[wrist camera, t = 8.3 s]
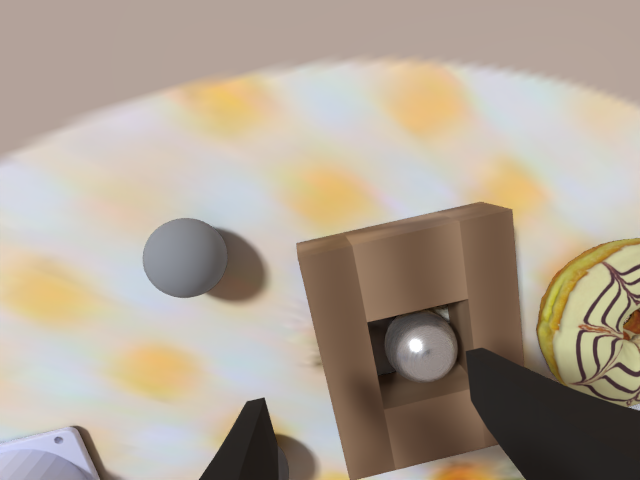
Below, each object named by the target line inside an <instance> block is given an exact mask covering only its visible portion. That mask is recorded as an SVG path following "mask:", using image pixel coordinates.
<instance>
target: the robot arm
mask: <svg viewBox="0 0 640 480" xmlns="http://www.w3.org/2000/svg"><path fill="white" fill-rule="evenodd" d="M465 352H466V361H467V370H468V379H469V389H470V398H471V402H472V403H473V405H474V407H475V409H476V410H477V412H478V414H479V416H480V417H481V419H482V421H483V422H484V424H485V426H486V427H487V429H488V430H489V431H490V433H491V434H492V435H493V437H494V438H495V439H496V441H497V442H498V443H499V445H500V446H501V447H502V449H503V450H504V451H505V453H506V454H507V455H508V457H509V458H510V459H511V461H512V462H513V463H514V464H515V466H516V467H517V468H518V470H519V471H520V472H521V474H522V475H523V476H524V478H525V479H526V480H640V411H639V410H635V409H631V408H628V407H624V406H621V405H618V404H615V403H612V402H609V401H606V400H603V399H600V398H597V397H594V396H591V395H588V394H585V393H583V392H580V391H577V390H575V389H572V388H570V387H568V386H565V385H563V384H560V383H558V382H555V381H553V380H551V379H548V378H546V377H544V376H542V375H540V374H537V373H535V372H533V371H531V370H529V369H527V368H524V367H522V366H520V365H518V364H516V363H514V362H512V361H510V360H508V359H506V358H504V357H502V356H500V355H498V354H496V353H494V352H491V351H489V350H487V349H485V348H477V349H473V350H469V351H465ZM59 437H62V438H63V439H61V438H59ZM0 480H100V478H99V476H98V474H97V471H96V469H95V467H94V465H93V462H92V460H91V458H90V456H89V454H88V451H87V449H86V447H85V445H84V443H83V440H82V438H81V436H80V434H79V432H78V430H77V429H75V428H73V427H66V428H62V429H58V430H54V431H49V432H45V433H41V434H37V435H32V436H28V437H24V438H20V439H16V440H11V441H7V442H3V443H0ZM199 480H279V465H278V445H277V441H276V438H275V434H274V431H273V427H272V423H271V420H270V416H269V412H268V409H267V405H266V401H265V398H260V399H256V400H252V401H247V402H246V404H245V405H244V407H243V409H242V411H241V413H240V414H239V416H238V418H237V420H236V422H235V423H234V425H233V427H232V429H231V430H230V432H229V434H228V435H227V437H226V439H225V440H224V442H223V444H222V445H221V447H220V449H219V450H218V452H217V453H216V455H215V457H214V458H213V460H212V461H211V463H210V464H209V466H208V467H207V468H206V470H205V471H204V473H203V474H202V476H201V477H200V479H199Z"/></svg>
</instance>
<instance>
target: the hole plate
mask: <svg viewBox="0 0 640 480" xmlns="http://www.w3.org/2000/svg"><path fill="white" fill-rule="evenodd" d="M297 255H298V261H299V265H300V270H301V274H302V278H303V282H304V287H305V291H306V295H307V299H308V304H309V308H310V312H311V316H312V321H313V325H314V329H315V333H316V338H317V342H318V346H319V350H320V355H321V359H322V363H323V367H324V372H325V376H326V380H327V384H328V389H329V393H330V397H331V402H332V406H333V410H334V414H335V419H336V423H337V427H338V431H339V436H340V440H341V444H342V448H343V453H344V457H345V461H346V465H347V470H348V474H349V478H350V480H357V479H361V478H365V477H369V476H373V475H377V474H381V473H385V472H389V471H394V470H398V469H402V468H406V467H410V466H414V465H418V464H422V463H426V462H430V461H434V460H438V459H442V458H446V457H450V456H454V455H458V454H462V453H466V452H470V451H474V450H478V449H482V448H486V447H490V446H494V445H498V444H499V443H498V442H497V441H496V439H495V438H494V437H493V435H492V434H491V433H490V431H489V430H488V429H487V427H486V426H485V424H484V422H483V421H482V419H481V417H480V416H479V414H478V412H477V410H476V409H475V407H474V405H473V403H472V402H471V398H470V389H469V379H468V370H467V361H466V352H465V351H469V350H473V349H477V348H485V349H487V350H489V351H491V352H494V353H496V354H498V355H500V356H502V357H504V358H506V359H508V360H510V361H512V362H514V363H516V364H518V365H520V366H522V367H524V359H523V345H522V332H521V319H520V306H519V292H518V279H517V266H516V253H515V240H514V226H513V213H512V209H508V208H504V207H500V206H496V205H492V204H488V203H484V202H478V203H474V204H469V205H465V206H460V207H456V208H451V209H447V210H442V211H438V212H434V213H429V214H425V215H420V216H416V217H411V218H407V219H402V220H398V221H393V222H389V223H385V224H380V225H376V226H371V227H367V228H362V229H358V230H353V231H349V232H344V233H340V234H336V235H331V236H327V237H322V238H318V239H313V240H309V241H304V242H300V243H297ZM444 304H447V305H448V312H449V320H450V327H451V328H452V330H453V332H454V334H455V337H456V340H457V347H458V352H457V358H456V361H455V364H454V366H453V367H452V369H451V370H450V371H449V372H448V373H447V374H446V375H445V376H444V377H442V378H441V379H439V380H436V381H434V382H429V383H419V382H415V381H411V380H409V379H407V378H405V377H403V376H402V375H400V374H399V373H398V372H393V373H389V374H385V375H381V376H377V371H376V366H375V361H374V356H373V350H372V345H371V340H370V335H369V330H368V325H367V322H371V321H375V320H379V319H384V318H388V317H392V316H397V315H401V314H405V313H409V312H414V311H418V310H422V309H427V308H431V307H435V306H439V305H444Z"/></svg>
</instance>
